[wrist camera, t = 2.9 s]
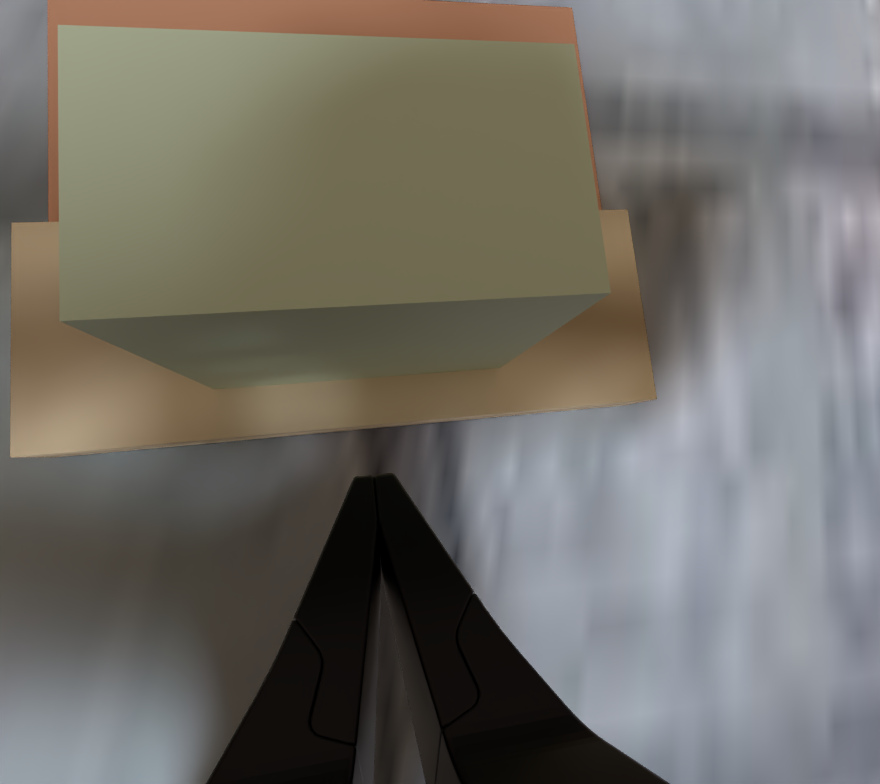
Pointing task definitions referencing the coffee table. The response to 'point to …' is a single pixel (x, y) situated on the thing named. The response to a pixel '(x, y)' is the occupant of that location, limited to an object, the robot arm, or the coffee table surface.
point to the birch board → (300, 404)
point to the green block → (321, 201)
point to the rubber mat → (308, 31)
